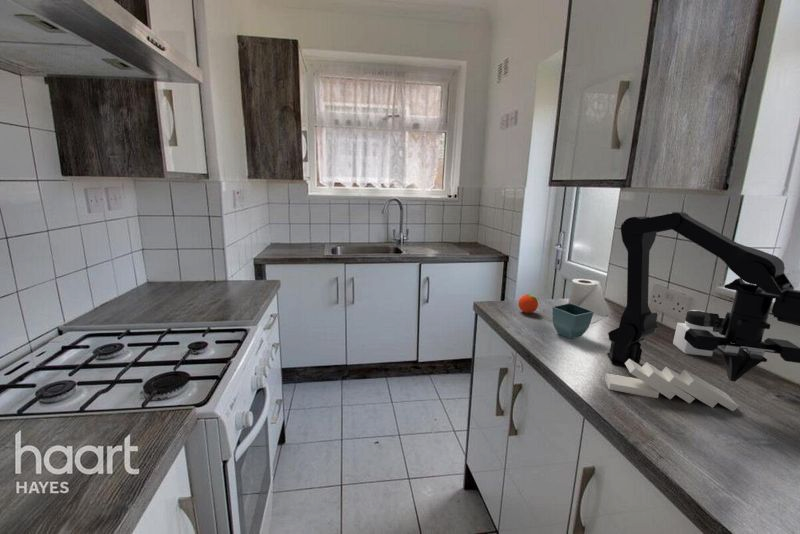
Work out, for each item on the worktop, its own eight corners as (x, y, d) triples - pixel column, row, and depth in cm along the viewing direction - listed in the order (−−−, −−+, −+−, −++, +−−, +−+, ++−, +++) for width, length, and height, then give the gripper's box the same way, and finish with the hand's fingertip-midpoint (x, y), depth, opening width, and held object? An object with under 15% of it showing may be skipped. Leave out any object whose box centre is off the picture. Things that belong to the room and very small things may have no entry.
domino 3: (689, 403, 82) (648, 377, 84) (680, 391, 87) (641, 366, 88) (695, 398, 82) (653, 371, 83) (685, 387, 86) (646, 362, 88)
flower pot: (571, 343, 112) (575, 315, 110) (548, 332, 120) (551, 306, 118) (590, 338, 116) (594, 311, 114) (566, 328, 124) (570, 302, 122)
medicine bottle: (712, 357, 106) (722, 317, 103) (684, 354, 107) (693, 315, 104) (698, 346, 113) (707, 309, 110) (672, 343, 114) (680, 307, 111)
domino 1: (657, 398, 84) (609, 389, 87) (650, 387, 89) (604, 379, 92) (659, 392, 84) (610, 383, 87) (652, 381, 88) (605, 373, 91)
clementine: (542, 313, 137) (544, 294, 136) (536, 318, 132) (538, 299, 130) (521, 308, 142) (523, 290, 140) (514, 312, 137) (516, 294, 135)
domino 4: (712, 407, 81) (669, 382, 83) (702, 395, 86) (661, 371, 87) (717, 402, 81) (674, 376, 82) (707, 390, 85) (666, 366, 87)
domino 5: (732, 411, 80) (688, 385, 82) (721, 399, 85) (679, 374, 86) (738, 406, 80) (693, 380, 81) (726, 394, 84) (684, 369, 86)
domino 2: (670, 399, 83) (630, 373, 85) (662, 388, 88) (624, 363, 89) (675, 394, 83) (635, 368, 84) (667, 383, 87) (629, 358, 89)
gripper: (779, 307, 82) (761, 370, 86) (681, 297, 88) (668, 357, 91) (816, 325, 72) (794, 396, 75) (703, 312, 77) (687, 379, 81)
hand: (731, 380), depth 81 cm, fingers closed
